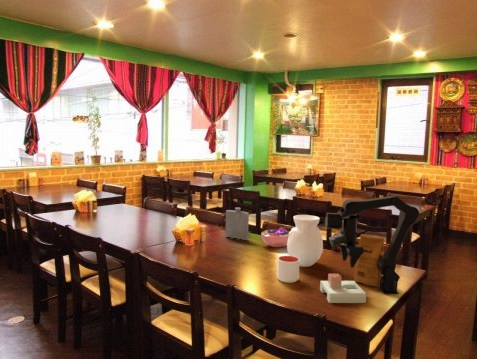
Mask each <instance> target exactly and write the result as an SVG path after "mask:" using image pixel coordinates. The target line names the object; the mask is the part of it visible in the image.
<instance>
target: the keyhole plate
mask: <svg viewBox="0 0 477 359" xmlns="http://www.w3.org/2000/svg"><path fill="white" fill-rule="evenodd" d="M319 282H320V285H319V291H320V292H321V293H322V294H324V293H325V294H326V301H328V304H334V303H335V304H364V303H365V304H366V303H367V302H366V301H367V293H366V292H365V290H364V289H362V287H361V286H359V284H358V282H355V281H354V280H342V283H341V287H337V288H332V287H331V286H330V285H329V284H328V280H320V281H319Z"/></svg>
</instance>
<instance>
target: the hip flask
mask: <svg viewBox="0 0 477 359" xmlns="http://www.w3.org/2000/svg"><path fill="white" fill-rule="evenodd" d="M234 209H235V210H231V209H227V210H225V238H226V237H231V238H230V239H233V238H237V239H236V240H239V239H242V240H241V241H243V240H248V241H249V223H250V222H249V221H250V220H249V219H250V218H249V216H250V212H246V211H244V210H243V211H242V210H241V209H242V208H241V207H239V206H238V207H234Z"/></svg>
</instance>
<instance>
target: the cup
mask: <svg viewBox="0 0 477 359" xmlns="http://www.w3.org/2000/svg"><path fill="white" fill-rule="evenodd" d="M299 262H300V260H299V258H297V257H294V256H289V255H281V256H279V257H278V258H277V270H276V273H277V275H276V277H277V280H279V281H280V282H282V283H286V284H287V283H288V284H290V283H291V284H292V283H295V282H297V281H299V279H300V266H299Z"/></svg>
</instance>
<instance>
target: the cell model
mask: <svg viewBox="0 0 477 359" xmlns="http://www.w3.org/2000/svg"><path fill="white" fill-rule="evenodd" d="M290 231H291V230H287V229H286V228H285V227H282V226H280V227H279V229H267V230H264V231H262V232H261V234H260V235H261V240H262V241H263V243H265V244H266V245H267V246H269V247H272V248H284V247H285V246H287V242H288V237H289V232H290Z"/></svg>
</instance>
